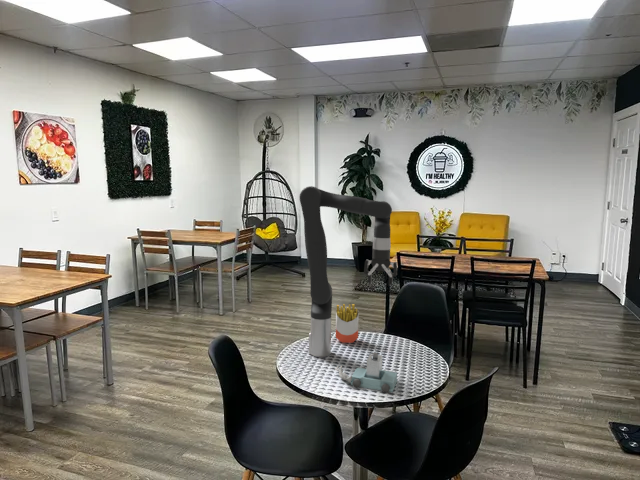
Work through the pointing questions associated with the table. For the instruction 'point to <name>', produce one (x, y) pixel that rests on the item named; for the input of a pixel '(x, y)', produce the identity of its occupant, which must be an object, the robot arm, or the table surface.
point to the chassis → (374, 380)
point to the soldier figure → (343, 374)
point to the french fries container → (347, 324)
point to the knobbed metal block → (374, 366)
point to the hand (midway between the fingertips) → (380, 284)
